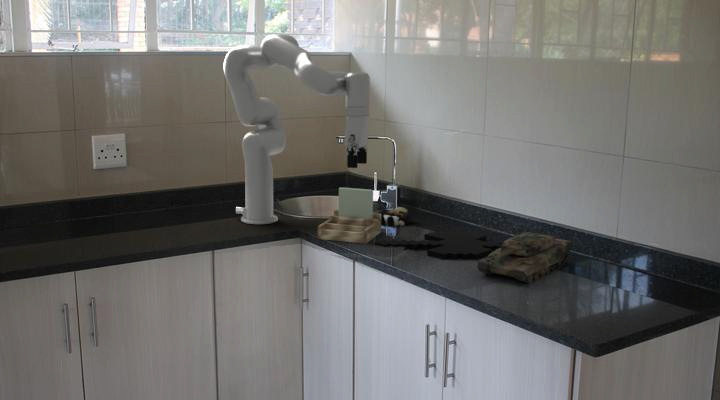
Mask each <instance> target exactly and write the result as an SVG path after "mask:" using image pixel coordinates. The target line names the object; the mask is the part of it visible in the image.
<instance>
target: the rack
mask: <svg viewBox="0 0 720 400" xmlns="http://www.w3.org/2000/svg"><path fill="white" fill-rule="evenodd" d="M340 217H341V216H338V209H334V210H333V215H329V219H327V220H326V221H323V222H322V223H321V224H319V225H317V240H325V241H326V240H327V241H328V240H329V241H338V242H346V243H347V242H348V243H358V244H368V243H369V242H370V241H372V240H373V239H374V238H375V237H376V236H378V235H379V234H381V233H382V225H381V214H378V213H377V212H375V213H374V212H373V219H365V226H367V227H365V226H354V225H342V224H337V223H338V218H340Z"/></svg>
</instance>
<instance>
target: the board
mask: <svg viewBox="0 0 720 400" xmlns="http://www.w3.org/2000/svg"><path fill="white" fill-rule="evenodd" d="M373 209H374V190H373V189H365V188H354V187H353V188H352V187H339V188H338V208H337V210H338V216H345V217H359V218H366V219H373V213H374V210H373Z"/></svg>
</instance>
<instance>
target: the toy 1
mask: <svg viewBox="0 0 720 400" xmlns="http://www.w3.org/2000/svg"><path fill="white" fill-rule="evenodd" d="M377 214H381V226H386V225H387V226H388V227H395V226H400V227H401V226H405V227H406V226H408V224H409V223H411V222H412V221H413V215H412V214H411V211H410V209H409V208H407V207H406V206H397V207H395V208H393V209H382V210H380V211H379V212H378V213H377Z"/></svg>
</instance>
